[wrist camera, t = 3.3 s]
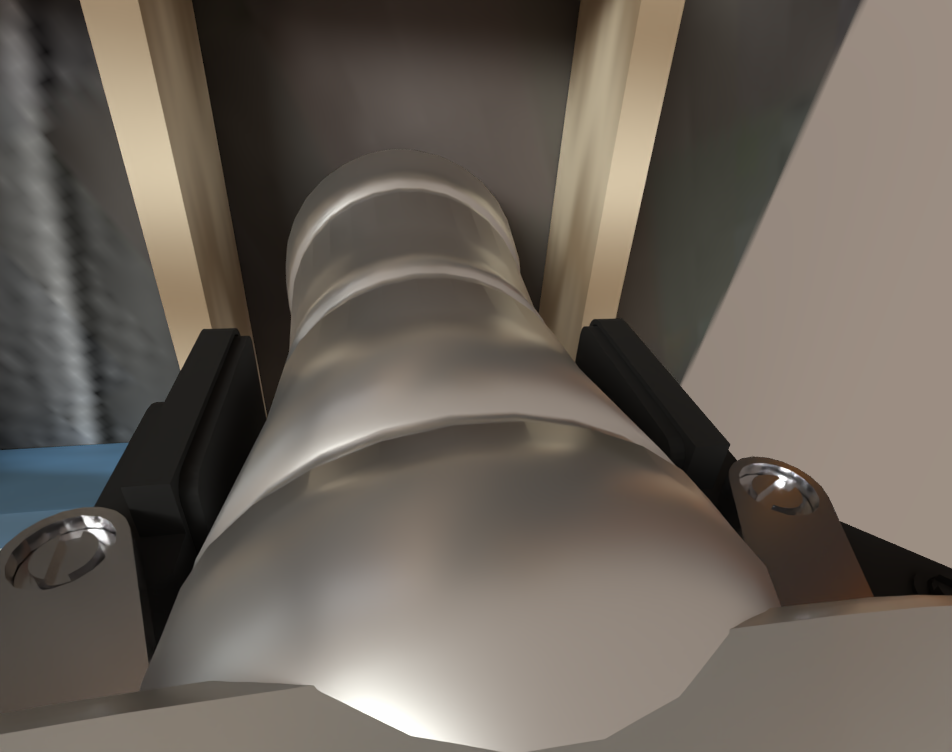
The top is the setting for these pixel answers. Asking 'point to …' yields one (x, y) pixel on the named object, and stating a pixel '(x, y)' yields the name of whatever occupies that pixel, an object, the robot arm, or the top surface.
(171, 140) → the divider rack
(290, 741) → the robot arm
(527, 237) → the top surface
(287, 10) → the top surface
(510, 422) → the plastic bottle
